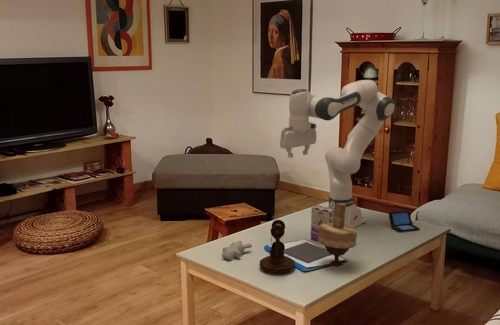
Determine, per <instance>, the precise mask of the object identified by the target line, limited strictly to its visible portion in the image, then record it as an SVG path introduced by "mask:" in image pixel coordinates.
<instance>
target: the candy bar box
mask: <svg viewBox="0 0 500 325" xmlns="http://www.w3.org/2000/svg"><path fill="white" fill-rule="evenodd" d="M310 219H311V221H310V240H311V241H314V242H318V234H319V228H320V225H321V224H325V223H333V219H334V209H332V208H328V206H327V207H326V206H322V205H314V206H311V218H310ZM318 243H319V242H318Z"/></svg>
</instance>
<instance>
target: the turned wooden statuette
mask: <svg viewBox="0 0 500 325" xmlns="http://www.w3.org/2000/svg"><path fill="white" fill-rule="evenodd" d="M285 229H286V224H285V222H284V221H283V220H281V219H275V220H274V221H273V222H272V223H271V228H270V235H271V238H270V239H271V240H270V243H271V245H270V249H269V255H268V256H265V257H263V258H262V259H260V260H259V267H260V268H261V269H262V270H263V272H264V273H267V272H270V273H287V274H290V271H292V270H294V269H295V268H296V261H295V260H294V259H293V258H291V257H290V256H286V255H285V254H284V250H285V249H286V247H285V243H283V241H280V240H281V239H282V237H284V235H285V231H286V230H285ZM273 239H274V240H275V241H274V242H272V241H273Z"/></svg>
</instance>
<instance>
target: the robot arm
mask: <svg viewBox="0 0 500 325" xmlns="http://www.w3.org/2000/svg"><path fill="white" fill-rule="evenodd" d="M288 101H289V103H288V104H289V106H288V111H289V117H288V126H287V127H284V128H283V129H282V130H281V134H280V139H279V147H280V149H284V150H286V152H287V156H288V158H294V153H292V148H299V147H304V150H302V155H303V156H307V155H308V153H309V150H310V147H311V146H312V145H314V144H316V143H317V130H316V129H317V124H316V123H313V122H311V121H309V119H310V117H311V118H315V119H320V120H324V121H332V120H334V119H335V118H336V117H337V116H338V115H339V114H341V113H343V112H344V111H347V110H349V109H352V108H355V107H356V106H358V107H359V108H360V109H362V110H364V111H365V115H363V116H362V118H361V119H359V120H358V122H357V123H356V124H355V126H354V127H353V128H352V130H351V131H350V132H349V133H348V135H347V140H346V143H345V145H344V147H343V148H342V147H339V146H337V147H336V146H334V147H330V148H328V149H327V150H326V152H325V155H324V159H325V161H326V166H327V170H328V177H329V196H328V205H327V208H332V209H334V208H335V204H336V203H342V204H346V209H345V219H344V225H348V226H352V227H354V228H356V227H358V226H360V225H362V224H364V223H365V222H367V219H366V218H365V217H363V214H362V210H361V208H360V207H358V206H357V205H356V204H355V203H354V202H357V200H358V198H357V196H353V195H352V193H353V192H352V191H353V183H352V182H353V181H352V178H351V176H350V175H353V174H356V173H357V172H358V171H359V170H360V167H361V160H362V157H363V155H364V152H365V151H366V149H367V148H368V146H369V145H370V143H371V142H372V141H373V140H374V138H375V137H376V136H377V134H378V133H379V132H380V130H381V128H382V126H383V125H384V124H385V120H387V119H388V118H390V117H391V116H392V115H393V114H394V113H395V110H396V102H395V101H394V100H393V99H392V98H391V97H390V96H387V95H386V94H384V93H382V92H380V91H379V88H378V85H377V83H376V82H375V81H374V80H372V79H361V80H356V81H352V82H350V83H348V84H346V85H344V86H343V87H342V88H341V92H340V97H337V98H335V97H325V96H316V95H315V94H313V93H311V92H310V91H309V90H308V89H306V88H299V89H298V88H297V89H295V90H293V91H291V92H290V96H289V100H288Z"/></svg>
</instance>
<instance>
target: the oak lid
mask: <svg viewBox="0 0 500 325" xmlns="http://www.w3.org/2000/svg"><path fill="white" fill-rule="evenodd" d="M345 209H346V204H342V203H336V204H335V208H334V219H333V223H325V224H321V225H320V228H319V234H318V243H319V244H320V245H322V246H324V245H325V246H328V247H333V248H349V249H351V248H355V247H356V245H357V235H358V234H357V233H358V232H357V228H356V227H355V228H354V227H352V226H348V225H344V219H345ZM325 246H324V247H325Z"/></svg>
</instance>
